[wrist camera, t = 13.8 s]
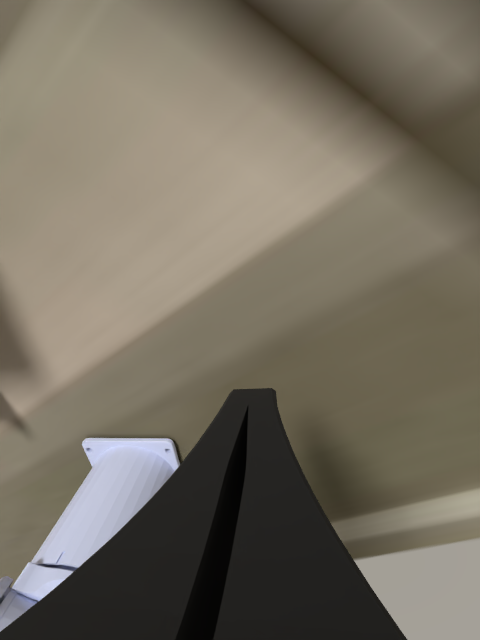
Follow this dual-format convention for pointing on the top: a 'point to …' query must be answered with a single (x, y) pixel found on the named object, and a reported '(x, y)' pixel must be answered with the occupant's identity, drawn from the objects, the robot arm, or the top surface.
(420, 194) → the top surface
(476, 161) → the top surface
